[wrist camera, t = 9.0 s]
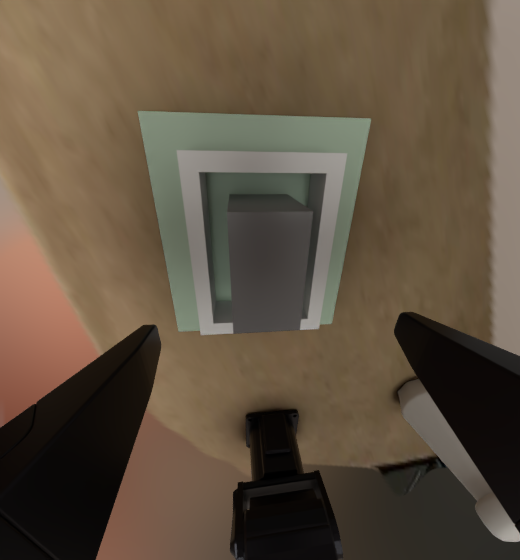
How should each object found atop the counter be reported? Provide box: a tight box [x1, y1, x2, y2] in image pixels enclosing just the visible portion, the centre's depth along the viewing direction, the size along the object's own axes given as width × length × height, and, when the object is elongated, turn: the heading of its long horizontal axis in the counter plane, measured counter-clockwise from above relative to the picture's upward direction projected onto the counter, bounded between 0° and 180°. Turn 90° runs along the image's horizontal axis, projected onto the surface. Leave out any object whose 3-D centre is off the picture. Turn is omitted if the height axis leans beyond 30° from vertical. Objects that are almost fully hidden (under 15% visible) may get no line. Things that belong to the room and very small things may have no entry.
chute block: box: [227, 194, 313, 334], centre depth 15 cm, size 7×4×6 cm, turn 179°
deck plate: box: [138, 111, 371, 335], centre depth 17 cm, size 16×14×4 cm
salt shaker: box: [398, 379, 520, 542], centre depth 24 cm, size 6×6×13 cm
